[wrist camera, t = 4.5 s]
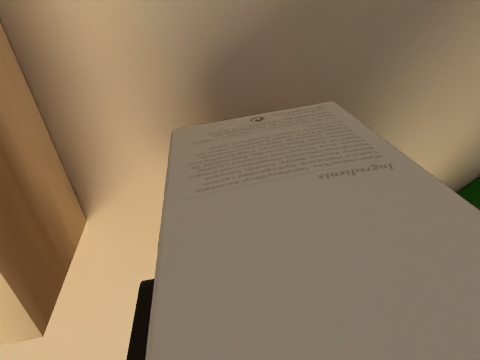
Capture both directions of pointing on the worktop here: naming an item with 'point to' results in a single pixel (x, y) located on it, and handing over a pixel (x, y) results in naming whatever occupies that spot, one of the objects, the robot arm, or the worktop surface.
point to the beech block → (30, 210)
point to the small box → (310, 246)
